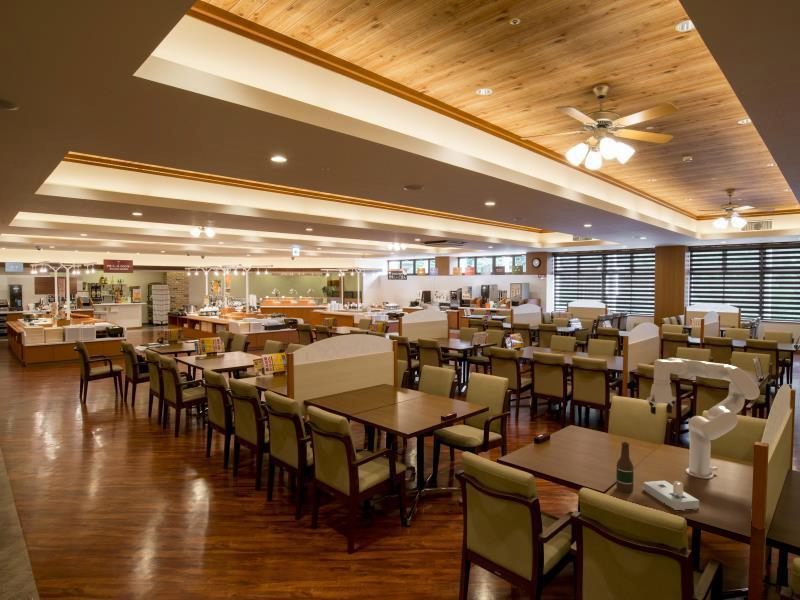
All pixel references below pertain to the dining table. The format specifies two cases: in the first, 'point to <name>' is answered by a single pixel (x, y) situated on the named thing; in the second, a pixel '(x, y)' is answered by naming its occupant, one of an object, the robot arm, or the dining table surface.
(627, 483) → the beer bottle
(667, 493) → the manifold block
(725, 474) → the dining table surface
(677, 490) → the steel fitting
